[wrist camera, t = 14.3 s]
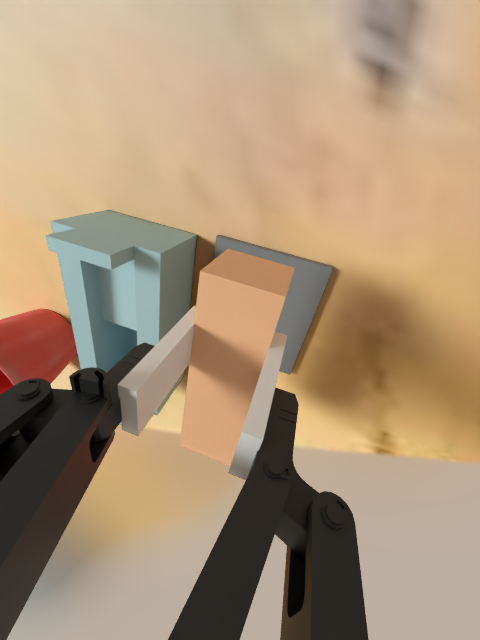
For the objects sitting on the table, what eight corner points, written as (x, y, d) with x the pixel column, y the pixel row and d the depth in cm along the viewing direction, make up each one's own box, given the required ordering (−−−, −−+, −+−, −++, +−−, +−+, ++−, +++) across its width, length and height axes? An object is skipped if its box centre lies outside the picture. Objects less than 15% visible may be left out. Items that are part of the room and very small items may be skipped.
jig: (108, 209, 24) (18, 227, 17) (197, 234, 23) (140, 264, 16) (120, 353, 34) (66, 403, 27) (183, 376, 33) (144, 434, 26)
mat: (218, 234, 23) (216, 236, 22) (332, 266, 21) (333, 268, 21) (203, 341, 29) (201, 344, 29) (290, 370, 28) (289, 374, 27)
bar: (227, 248, 15) (200, 270, 12) (295, 267, 15) (285, 296, 11) (201, 405, 23) (179, 445, 19) (244, 421, 22) (230, 466, 19)
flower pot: (99, 332, 33) (27, 385, 25) (80, 376, 39) (17, 429, 31) (27, 280, 32) (-72, 318, 24) (19, 333, 38) (-62, 378, 30)
